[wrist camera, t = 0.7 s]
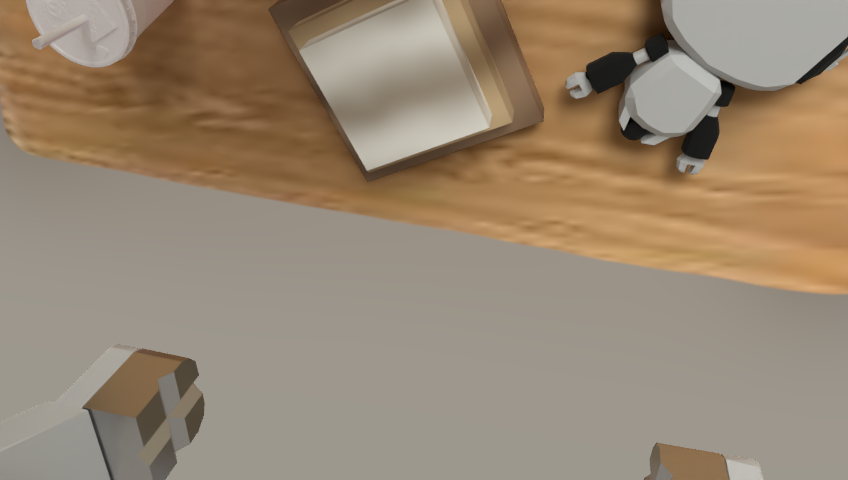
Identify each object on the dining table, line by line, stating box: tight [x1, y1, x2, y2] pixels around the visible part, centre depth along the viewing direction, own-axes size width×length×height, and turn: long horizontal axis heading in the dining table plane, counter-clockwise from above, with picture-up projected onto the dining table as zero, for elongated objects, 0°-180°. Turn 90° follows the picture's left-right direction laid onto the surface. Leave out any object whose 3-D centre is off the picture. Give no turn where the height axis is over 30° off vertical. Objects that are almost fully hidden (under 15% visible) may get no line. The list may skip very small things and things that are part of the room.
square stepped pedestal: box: [268, 0, 544, 182], centre depth 44 cm, size 14×14×6 cm
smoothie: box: [26, 0, 174, 68], centre depth 40 cm, size 6×6×14 cm
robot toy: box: [566, 0, 848, 174], centre depth 41 cm, size 12×4×15 cm
